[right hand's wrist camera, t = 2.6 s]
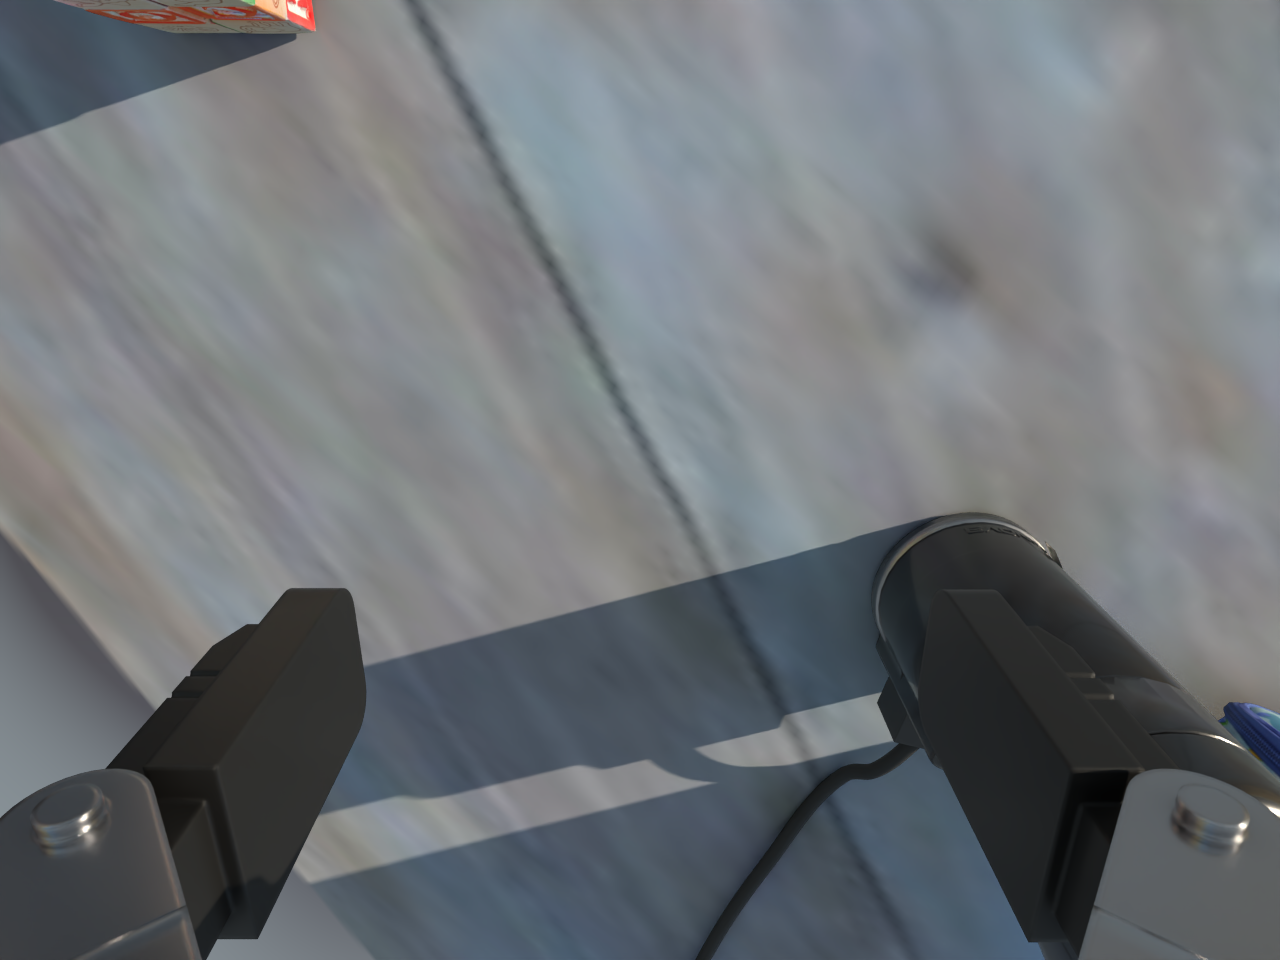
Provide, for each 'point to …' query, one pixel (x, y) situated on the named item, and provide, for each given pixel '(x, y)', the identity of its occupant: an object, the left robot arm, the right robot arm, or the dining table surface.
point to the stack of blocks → (208, 15)
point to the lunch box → (1255, 732)
